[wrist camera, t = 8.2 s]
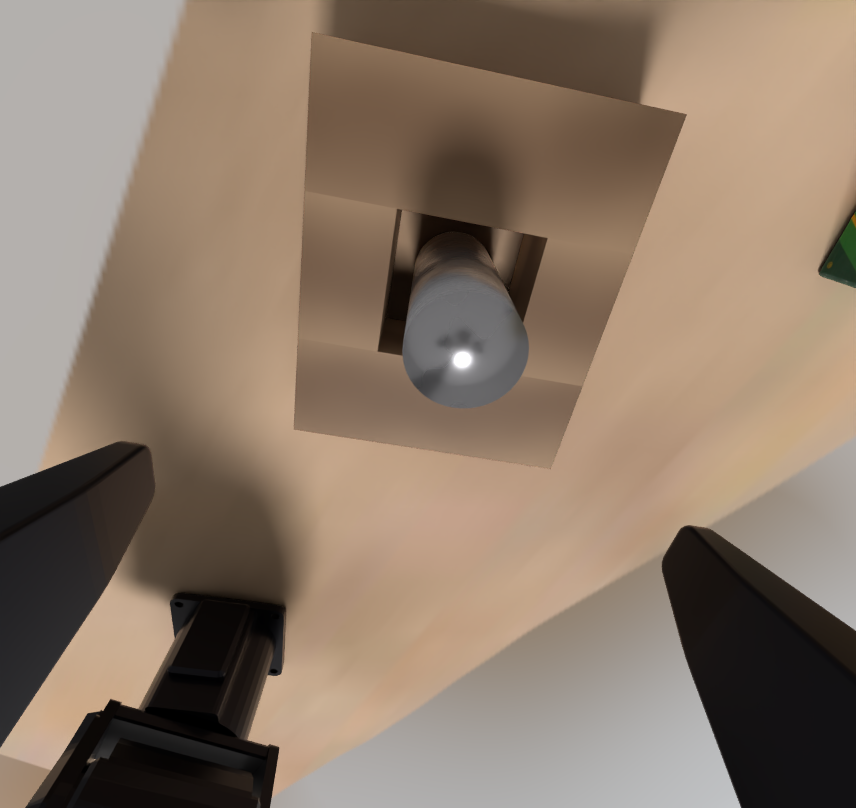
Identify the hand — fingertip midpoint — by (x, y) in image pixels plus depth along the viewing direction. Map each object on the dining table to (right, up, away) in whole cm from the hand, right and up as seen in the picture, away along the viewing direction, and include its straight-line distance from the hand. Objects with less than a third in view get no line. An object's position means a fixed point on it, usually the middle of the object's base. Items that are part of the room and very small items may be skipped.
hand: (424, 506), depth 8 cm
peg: (+1, +7, +10) cm, 12 cm away
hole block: (+1, +7, +10) cm, 12 cm away
